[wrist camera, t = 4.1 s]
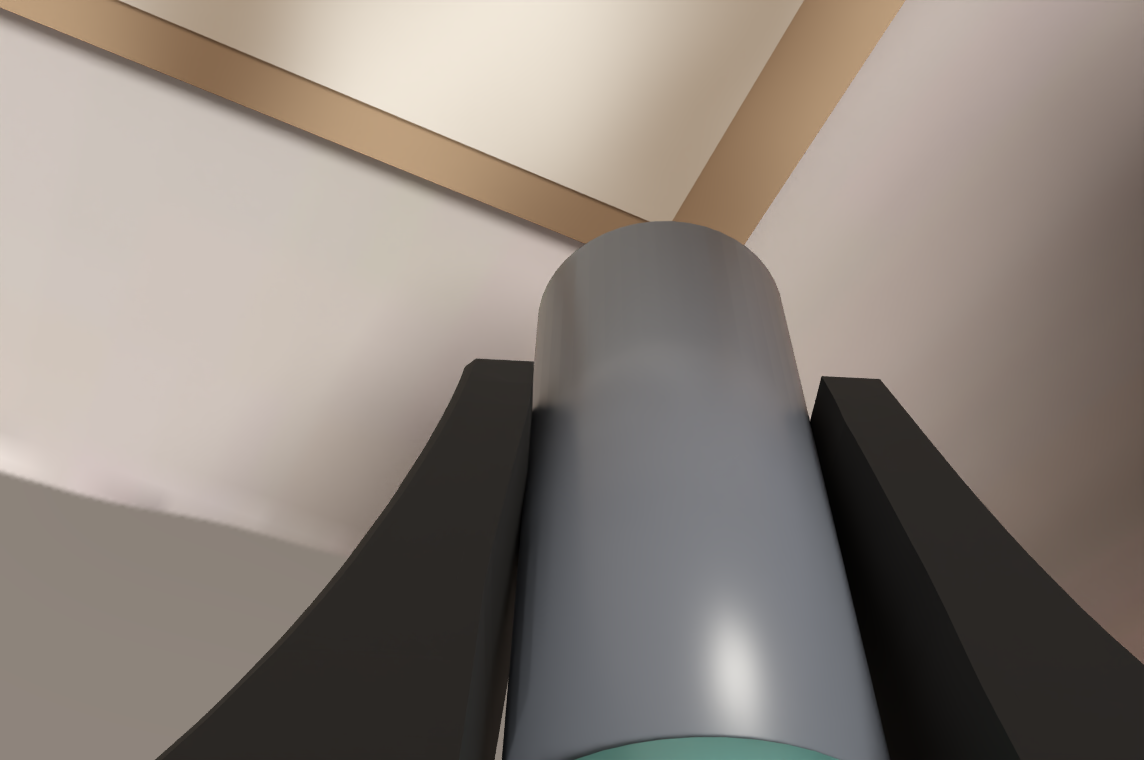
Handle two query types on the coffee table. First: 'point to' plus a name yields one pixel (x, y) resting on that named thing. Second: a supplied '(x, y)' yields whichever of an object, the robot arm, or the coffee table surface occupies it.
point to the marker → (678, 523)
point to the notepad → (526, 90)
